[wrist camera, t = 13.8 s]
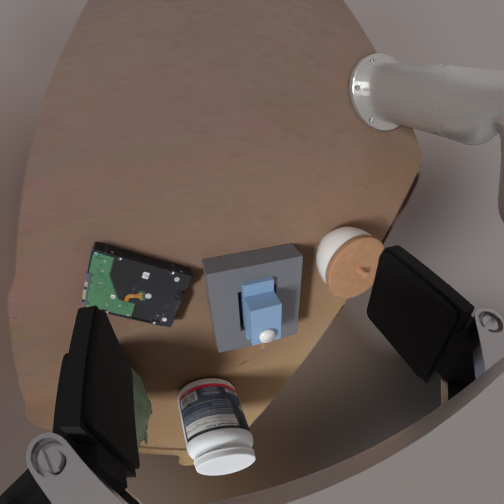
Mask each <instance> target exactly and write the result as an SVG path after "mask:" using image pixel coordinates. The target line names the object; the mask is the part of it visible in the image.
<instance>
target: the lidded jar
mask: <svg viewBox="0 0 504 504" xmlns="http://www.w3.org/2000/svg"><path fill="white" fill-rule="evenodd" d="M384 249H385V248H384V246H383V244H382V243H381V242H380V241H379V240H378V239H377V238H375V237H373V236H372V235H370V234H369V233H367V232H365V231H363V230H361V229H359V228H355V227H347V226H346V227H340V228H337V229H335V230H333V231H330V232H329V233H327V234H326V235H325V236H324V237H323V238H322V240H321V242H320V244H319V247H318V249H317V254H316V264H317V269H318V271H319V274H320V276H321V278H322V279H323V281H324V282H325V283H326V285H327V286H328V288H329V290H330V291H331V292H332V293H333V294H334V295H335V296H337V297H340V298H352V297H355V296H358V295H360V294H362V293H363V292H365V291H366V290H368V288H370V287H371V286H372V285H373V283H374V279H375V274H376V270H377V265H378V261H379V256H380V254H381V253H382V251H383V250H384Z"/></svg>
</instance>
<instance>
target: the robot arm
mask: <svg viewBox="0 0 504 504" xmlns="http://www.w3.org/2000/svg"><path fill="white" fill-rule="evenodd" d="M349 90H350V98H351V101H352V105H353V107H354V109H355V111H356V113H357V114H358V116H359V118H360V119H361V120H362V121H363V122H364V123H365V124H367V125H368V126H370V127H372V128H374V129H378V130H383V131H388V130H392V129H395V128H397V127H398V126H399V125H403V126H407V127H410V128H415V129H418V130H422V131H425V132H429V133H432V134H435V135H439V136H442V137H445V138H448V139H452V140H455V141H457V142H460V143H464V144H467V145H479V144H482V143H485V142H487V141H489V140H491V139H492V138H494V137H495V136H497V135H498V134H499V135H500V138H501V152H502V153H501V171H500V183H499V195H498V209H499V214H500V217H501V219H502V221H503V222H504V71H499V70H488V69H478V68H469V67H460V66H451V65H440V64H424V63H399V62H398V61H397V60H396V59H394V58H392V57H390V56H388V55H386V54H379V53H378V54H370V55H367V56H365V57H363V58H362V59H361V60H360V61H358V62H357V64H356V65H355V67H354V69H353V71H352V74H351V78H350V87H349ZM473 310H474V306H473V305H472V304H470V303H469V302H468V301H467V300H466V299H465V298H464V297H463V296H461V295H460V294H459V293H458V292H457V291H455V290H454V289H453V288H452V287H451V286H450V285H448V284H447V283H446V282H445V281H443V280H442V279H441V278H440V277H439V276H438V275H436V274H435V273H434V272H432V271H431V270H430V269H429V268H428V267H426V266H425V265H424V264H422V263H421V262H420V261H419V260H418V259H416V258H415V257H414V256H412V255H411V254H410V253H408V252H407V251H406V250H405V249H403V248H402V247H400V246H398V245H396V246H392V247H388V248H385V249H384V250H383V251H382V253H381V254H380V256H379V261H378V265H377V270H376V274H375V279H374V283H373V287H372V291H371V296H370V299H369V303H368V307H367V315H368V317H369V319H370V320H371V321H372V322H373V324H374V325H375V326H376V327H377V328H378V329H379V331H380V332H381V333H382V334H383V335H384V336H385V338H386V339H387V340H388V341H389V342H390V343H391V345H392V346H393V347H394V348H395V349H396V351H397V352H398V353H399V354H400V355H401V357H402V358H403V359H404V360H405V361H406V363H407V364H408V365H409V366H410V367H411V369H412V370H413V371H414V372H415V374H416V375H417V376H418V377H420V378H422V379H423V380H424V381H425V383H428V382H430V381H431V380H433V379H434V378H436V376H437V375H438V373H439V374H440V375H441V406H440V407H439V408H437V409H436V410H434V411H433V412H431V413H430V414H428V415H427V416H425V417H424V418H422V419H421V420H419V421H417V422H416V423H414V424H413V425H411V426H409V427H408V428H406V429H404V430H403V431H401V432H399V433H398V434H396V435H394V436H392V437H391V438H389V439H387V440H385V441H383V442H381V443H379V444H378V445H376V446H374V447H372V448H370V449H368V450H366V451H364V452H362V453H360V454H358V455H356V456H353V457H351V458H349V459H347V460H345V461H342V462H340V463H338V464H336V465H333V466H331V467H329V468H326V469H324V470H321V471H319V472H316V473H313V474H311V475H308V476H306V477H303V478H300V479H297V480H294V481H291V482H288V483H285V484H282V485H279V486H276V487H272V488H269V489H265V490H262V491H258V492H255V493H251V494H247V495H243V496H238V497H234V498H230V499H225V500H221V501H216V502H211V503H205V504H504V319H503V318H502V317H501V316H500V315H499V314H498V313H496V312H495V311H493V310H490V309H486V308H485V309H484V308H482V309H479V310H478V311H476V313H475V315H474V317H472V316H471V314H472V312H473ZM26 459H27V465H28V469H27V470H26V471H25V472H24V473H23V474H22V475H21V476H20V477H19V478H18V479H17V480H16V481H15V482H14V483H13V484H12V485H11V486H10V487H9V488H8V489H7V490H6V491H5V492H4V493H3V494H2V495H1V496H0V504H143V503H141V502H140V501H139V500H138V499H137V498H136V497H135V496H133V495H132V494H131V493H130V492H129V491H128V490H127V489H126V488H127V480H126V477H136V473H135V469H138V468H139V466H140V462H139V454H138V445H137V436H136V425H135V412H134V395H133V375H132V370H131V367H130V365H129V363H128V361H127V359H126V357H125V354H124V352H123V350H122V348H121V346H120V344H119V342H118V340H117V337H116V335H115V333H114V331H113V328H112V326H111V324H110V322H109V319H108V317H107V314H106V312H105V310H104V309H101V310H99V308H98V307H97V306H96V305H95V306H89V307H83V308H79V310H78V313H77V317H76V321H75V325H74V330H73V334H72V339H71V344H70V349H69V353H66V354H65V355H64V357H63V360H62V366H61V371H60V377H59V383H58V390H57V397H56V405H55V413H54V423H53V433H43V434H41V435H39V436H37V437H36V438H34V439H33V440H32V442H31V443H30V445H29V447H28V449H27V454H26Z"/></svg>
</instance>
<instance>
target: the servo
mask: <svg viewBox="0 0 504 504" xmlns="http://www.w3.org/2000/svg"><path fill="white" fill-rule="evenodd" d="M238 303H239V314H240V317H241V319H242V322H243V324H244V327H245V333H246V338H247V340H249V339H250V341H251V343H252V346H253V345H257V344H260V348H261V349H264V348H265V343H268V342H271V341H272V340H276V339H280V338H281V314H282V303H281V302H280V300H279V298H278V297H277V295H276V294H275V292H274V279H273V277H272V276H271V277H267V278H262V279H258V280H253V281H248V282H243V283H242V292H238Z"/></svg>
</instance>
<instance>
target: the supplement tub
mask: <svg viewBox="0 0 504 504" xmlns="http://www.w3.org/2000/svg"><path fill="white" fill-rule="evenodd" d="M177 401H178V406H179V411H180V416H181V422H182V427H183V432H184V437H185V441H186V446H187V451H188V454H189V455H190V457H191V458H192V459H194V460H195V461H194V465H195V468H196V470H197V472H198V473H200V474H204V475H223V474H229V473H233V472H236V471H239V470H241V469H244V468H246V467H248V466H250V465H251V464H252V463H253V462H254V461H255V459H256V458H255V455H254V450H253V449H251V447H252V445H253V438H252V435H251V433H250V430H249V427H248V424H247V421H246V419H245V416H244V413H243V410H242V408H241V405H240V402H239V399H238V396H237V393H236V390H235V388H234V387H233V385H232V384H231V383H229V382H228V381H225V380H223V379H218V378H206V379H200V380H197V381H194V382H191V383H189V384H188V385H186V386H185V387H184V388H182V390H181V391H180V392H179V394H178V399H177Z"/></svg>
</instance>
